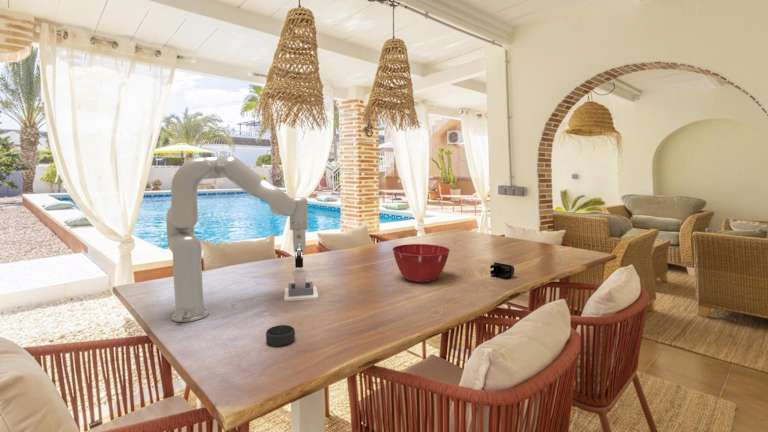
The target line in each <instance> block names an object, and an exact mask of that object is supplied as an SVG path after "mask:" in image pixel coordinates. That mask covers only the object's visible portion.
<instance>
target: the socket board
mask: <svg viewBox="0 0 768 432" xmlns="http://www.w3.org/2000/svg"><path fill="white" fill-rule="evenodd" d="M318 299H319V295H318V289H317V286H315V285H314V284H313V281H306V285H305V288H297V289H296V287H295V282H292V283H290V282H289V283H288V287H286V288H284V297H283V300H284V302H294V301H307V300H318Z"/></svg>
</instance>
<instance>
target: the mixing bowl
mask: <svg viewBox="0 0 768 432" xmlns="http://www.w3.org/2000/svg"><path fill="white" fill-rule="evenodd" d="M392 252H393V257H394V259H395V262H396V266H397V268H398V269H399V272H400V274H401V275H402V276H403V278H405V279H407V280H408V281H410V282H414V283H421V284H422V283H430V282H433V281H434V280H436V279H438V278H439V277H440V275H441V274H442V272H443V270H444V268H445V265H446V264H447V260H448V257H449V253H450V252H451V249H450V248H448V247H446V246H443V245H437V244H430V243H429V244H428V243H427V244H426V243H408V244H400V245H396V246H394V247H393V248H392Z"/></svg>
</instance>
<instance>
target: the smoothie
mask: <svg viewBox="0 0 768 432" xmlns="http://www.w3.org/2000/svg"><path fill="white" fill-rule="evenodd" d="M292 274H293V281H294V283H295V287H296V289H297V288H305V285H306V282H307V275H308V270H307V269H304V268H303V267H302V268H297V269H293V270H292Z"/></svg>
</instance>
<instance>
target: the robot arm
mask: <svg viewBox="0 0 768 432" xmlns="http://www.w3.org/2000/svg"><path fill="white" fill-rule="evenodd" d="M221 178H224V179H225V178H226V179H228V180H229V181H230V182H231V183H233V184H234V185H236V187H239V188H240V189H241V190H242V191H244V192H245V193H246V194H248V195H249V196H250V197H254V198H256V199H259V200H261V201H263V202H264V203H266V204H268V205H269V209H270V211H271V213H273V214H274V215H276V216H277V215H278V216H283V217H289V230H291V231H292V245H293V246H292V247H293V252H294V253H295V255H294V257H295V258H294V260H295V261H294V264H295V266H294V267H295V268H297V269H300V268H302V269H303V267H304V257H303V255H304V254H303V253H306V252H307V251H306V246H307V245H306V241H307V239H306V238H307V237H306V231H307V230H308V226H309V225H308V199H307V198H305V197H297V196H296V197H290V196H289V195H288V194H287V193H285V192H284V191H283V190H281V189H280V188H278V187H277V186H276V185H275V184H273V183H272V182H269V181H268V180H267V179H265V178H264V177H262V176H261V175H260V174H258V173H257V172H255V171H254V170H253V169H252V168H250V167H249V166H248V165H247V164H246V163H244V162H243V161H242V160H241V159H239V158H238V157H237V156H234V155H224V156H223V155H222V156H214V157H212V156H211V157H203V156H193V157H190V158H187V159H186V160H185V161H183V164H181V165H180V166H179V168H178V169H177V170H176V171H175V173H174V175H173V177H172V181H171V186H170V194H171V197H170V202H171V203H170V204H171V205H170V206H169V208H168V209H167V211H166V216H165V217H166V237H167V238H166V239H167V246H168V248H169V250H170V251H171V253H172V274H173V286H174V287H173V289H174V302H175V312H174V313H172V315H171V321H174V322H177V323H188V322H194V321H198V320H201V319H204V318H206V317H207V316H208V315H209V309H207V308H205V305H204V303H205V301H204V287H203V286H204V285H203V269H202V255H203V254H202V253H203V248H202V243H201V241H200V238H199V237H197V235H195V226H196V225H197V223H198V220H199V211H198V188H199V185H200V183H201V182H202V181H203V180H207V179H208V180H209V179H210V180H212V179H221Z"/></svg>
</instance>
